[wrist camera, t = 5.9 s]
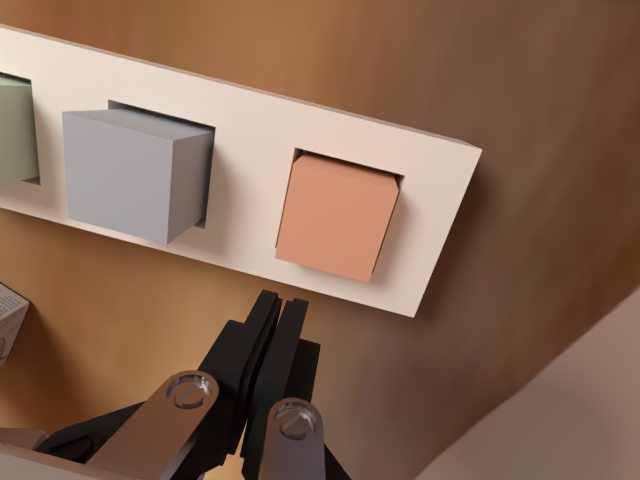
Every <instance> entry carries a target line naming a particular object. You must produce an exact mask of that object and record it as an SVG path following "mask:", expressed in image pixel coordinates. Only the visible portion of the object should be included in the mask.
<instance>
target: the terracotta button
mask: <svg viewBox="0 0 640 480" xmlns="http://www.w3.org/2000/svg"><path fill="white" fill-rule="evenodd" d="M398 192H399V190H398V187H397V184H396V181H395V179H394V176H393V173H392V172H389V171H385V170H381V169H378V168H374V167H370V166H366V165H362V164H358V163H354V162H350V161H346V160H342V159H339V158H335V157H331V156H327V155H323V154H319V153H315V152H311V151H307V152H306V153H305V154H304V155H303V156H301V157H300V158H299V159H298V160H297V161H296V162H295V163H294V164H293V168H292V173H291V178H290V183H289V188H288V193H287V198H286V203H285V208H284V213H283V218H282V223H281V228H280V233H279V239H278V244H277V249H276V254H275V258H276V259H280V260H283V261H287V262H291V263H295V264H298V265H302V266H306V267H310V268H314V269H317V270H321V271H325V272H329V273H332V274H336V275H340V276H344V277H347V278H351V279H355V280H359V281H363V282H366V283H369V280H370V277H371V274H372V271H373V267H374V264H375V261H376V258H377V255H378V252H379V249H380V246H381V243H382V240H383V237H384V234H385V231H386V228H387V225H388V222H389V219H390V216H391V213H392V210H393V207H394V204H395V201H396V198H397V195H398Z"/></svg>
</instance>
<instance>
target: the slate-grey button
mask: <svg viewBox="0 0 640 480" xmlns="http://www.w3.org/2000/svg"><path fill="white" fill-rule="evenodd" d="M62 125H63V141H64V158H65V174H66V190H67V207H68V219H72V220H76V221H79V222H83V223H87V224H91V225H95V226H98V227H102V228H106V229H110V230H113V231H117V232H121V233H125V234H128V235H132V236H136V237H140V238H143V239H147V240H151V241H155V242H158V243H162V244H166V245H167V244H169V243H170V242H171V241H173V240H174V239H175V238H177V237H178V236H179V235H181V234H182V233H184V232H185V231H186V230H188V229H189V228H190V227H192V226H193V225H194V224H196V223H197V222H199V221H200V220H201V219H203V218H204V217H205V216H206V214H207V205H208V195H209V186H210V176H211V167H212V158H213V148H214V139H215V130H212V129H208V128H204V127H201V126H197V125H193V124H189V123H185V122H181V121H177V120H173V119H169V118H165V117H162V116H158V115H154V114H150V113H146V112H142V111H138V110H134V109H110V110H88V111H65V112H62Z"/></svg>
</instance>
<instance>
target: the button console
mask: <svg viewBox="0 0 640 480" xmlns="http://www.w3.org/2000/svg"><path fill="white" fill-rule="evenodd" d="M0 75H2V76H6V77H10V78H14V79H18V80H22V81H25V82H29V83H31V84H32V95H33V106H34V117H35V128H36V139H37V150H38V161H39V172H40V176H38V177H34V178H30V179H26V180H22V181H17V182H13V183H9V184H5V185H1V186H0V207H1V208H5V209H9V210H12V211H16V212H20V213H24V214H27V215H31V216H35V217H39V218H42V219H46V220H50V221H53V222H57V223H61V224H65V225H68V226H72V227H76V228H80V229H83V230H87V231H91V232H95V233H98V234H102V235H106V236H110V237H113V238H117V239H121V240H125V241H128V242H132V243H136V244H140V245H143V246H147V247H151V248H155V249H158V250H162V251H166V252H170V253H173V254H177V255H181V256H185V257H188V258H192V259H196V260H200V261H203V262H207V263H211V264H215V265H218V266H222V267H226V268H230V269H233V270H237V271H241V272H245V273H248V274H252V275H256V276H260V277H263V278H267V279H271V280H275V281H278V282H282V283H286V284H290V285H293V286H297V287H301V288H305V289H308V290H312V291H316V292H320V293H323V294H327V295H331V296H335V297H338V298H342V299H346V300H350V301H353V302H357V303H361V304H365V305H368V306H372V307H376V308H380V309H383V310H387V311H391V312H395V313H398V314H402V315H406V316H410V317H413V318H414V316H415V314H416V311H417V309H418V306H419V304H420V301H421V299H422V296H423V294H424V292H425V289H426V287H427V284H428V282H429V279H430V277H431V274H432V272H433V269H434V267H435V265H436V262H437V260H438V257H439V255H440V252H441V250H442V247H443V245H444V243H445V240H446V238H447V235H448V233H449V230H450V228H451V225H452V223H453V221H454V218H455V216H456V213H457V211H458V208H459V206H460V203H461V201H462V198H463V196H464V194H465V191H466V189H467V186H468V184H469V181H470V179H471V176H472V174H473V172H474V169H475V167H476V164H477V162H478V159H479V157H480V154H481V152H482V149H480V148H478V147H475V146H473V145H471V144H469V143H466V142H464V141H462V140H458V139H454V138H450V137H446V136H442V135H438V134H434V133H430V132H426V131H422V130H418V129H415V128H411V127H407V126H403V125H399V124H395V123H391V122H387V121H383V120H379V119H375V118H371V117H367V116H363V115H359V114H355V113H351V112H347V111H343V110H339V109H335V108H332V107H328V106H324V105H320V104H316V103H312V102H308V101H304V100H300V99H296V98H292V97H288V96H284V95H280V94H276V93H272V92H268V91H264V90H260V89H256V88H252V87H249V86H245V85H241V84H237V83H233V82H229V81H225V80H221V79H217V78H213V77H209V76H205V75H201V74H197V73H193V72H189V71H185V70H181V69H177V68H173V67H169V66H166V65H162V64H158V63H154V62H150V61H146V60H142V59H138V58H134V57H130V56H126V55H122V54H118V53H114V52H110V51H106V50H102V49H98V48H94V47H90V46H86V45H83V44H79V43H75V42H71V41H67V40H63V39H59V38H55V37H51V36H47V35H43V34H39V33H35V32H31V31H27V30H23V29H19V28H15V27H11V26H7V25H4V24H0ZM110 109H134V110H138V111H142V112H146V113H150V114H154V115H158V116H162V117H165V118H169V119H173V120H177V121H181V122H185V123H189V124H193V125H197V126H201V127H204V128H208V129H212V130H215V139H214V148H213V158H212V167H211V176H210V186H209V195H208V205H207V214H206V216H205V217H204V218H203V219H201V220H200V221H199V222H197V223H196V224H194V225H193V226H192V227H190V228H189V229H188V230H186V231H185V232H184V233H182V234H181V235H179V236H178V237H177V238H175V239H174V240H173V241H171V242H170V243H169V244H167V245H166V244H162V243H158V242H155V241H151V240H147V239H143V238H140V237H136V236H132V235H128V234H125V233H121V232H117V231H113V230H110V229H106V228H102V227H98V226H95V225H91V224H87V223H83V222H79V221H76V220H72V219H68V207H67V190H66V174H65V158H64V141H63V125H62V112H65V111H88V110H110ZM307 151H311V152H315V153H319V154H323V155H327V156H331V157H335V158H339V159H342V160H346V161H350V162H354V163H358V164H362V165H366V166H370V167H374V168H378V169H381V170H385V171H389V172H392V173H393V176H394V179H395V181H396V184H397V187H398V190H399V192H398V195H397V198H396V201H395V204H394V207H393V210H392V213H391V216H390V219H389V222H388V225H387V228H386V231H385V234H384V237H383V240H382V243H381V246H380V249H379V252H378V255H377V258H376V261H375V264H374V267H373V271H372V274H371V277H370V280H369V283H366V282H363V281H359V280H355V279H351V278H347V277H344V276H340V275H336V274H332V273H329V272H325V271H321V270H317V269H314V268H310V267H306V266H302V265H298V264H295V263H291V262H287V261H283V260H280V259H276V258H275V254H276V249H277V244H278V239H279V233H280V228H281V223H282V218H283V213H284V208H285V203H286V198H287V193H288V188H289V183H290V178H291V173H292V168H293V164H294V163H295V162H296V161H297V160H298V159H299V158H300V157H301V156H303V155H304V154H305V153H306V152H307Z"/></svg>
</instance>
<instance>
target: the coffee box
mask: <svg viewBox="0 0 640 480" xmlns="http://www.w3.org/2000/svg"><path fill="white" fill-rule="evenodd" d="M29 305H30V303H29V301H27V300H26V299H24V298H22V297H21V296H19V295H18V294H16V293H14V292H13V291H11V290H10V289H8V288H7V287H5V286H4V285H2V284H0V367H1V366H2V365H3V364H4V363H5V362H6V359H7V357H8V355H9V352H10V350H11V348H12V345H13V343H14V340H15V338H16V336H17V333H18V331H19V329H20V326H21V324H22V321H23V319H24V317H25V314H26V312H27V310H28V307H29Z"/></svg>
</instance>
